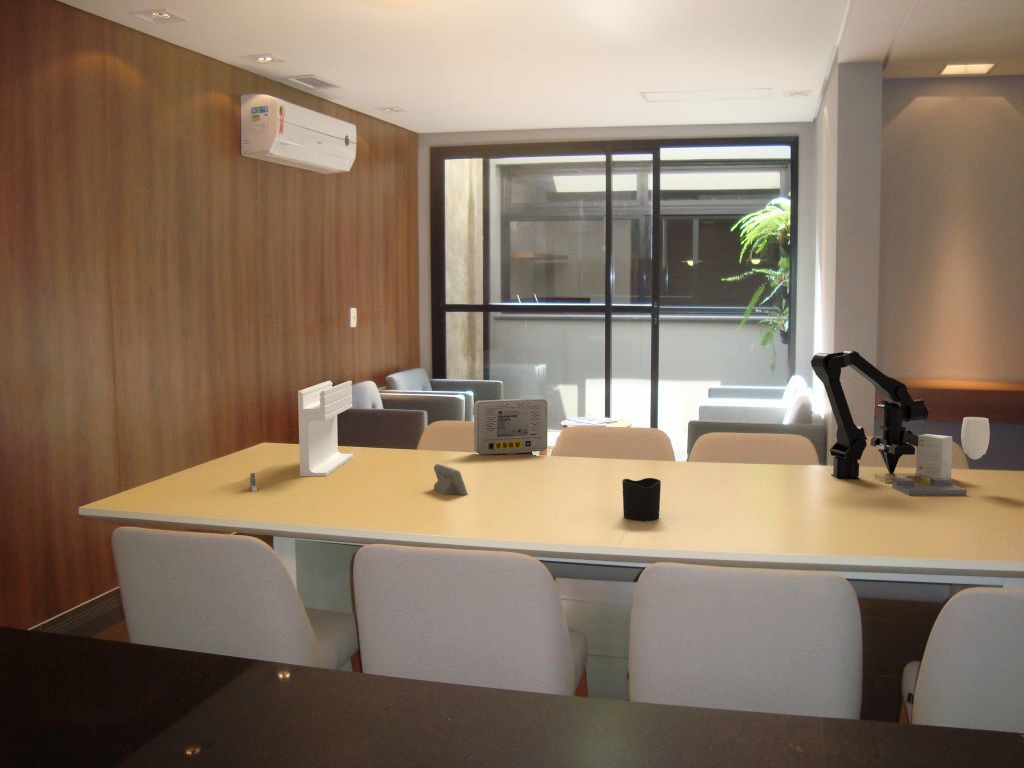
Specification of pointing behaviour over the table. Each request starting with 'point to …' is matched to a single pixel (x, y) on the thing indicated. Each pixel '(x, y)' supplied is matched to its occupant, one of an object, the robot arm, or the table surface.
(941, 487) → the fixed leaf
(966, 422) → the grey rounded piece
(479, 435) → the network device
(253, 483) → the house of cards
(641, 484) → the pen holder
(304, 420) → the white device stand
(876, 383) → the robot arm
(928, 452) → the small box
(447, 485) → the digital clock
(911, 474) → the tan rectangular slab
